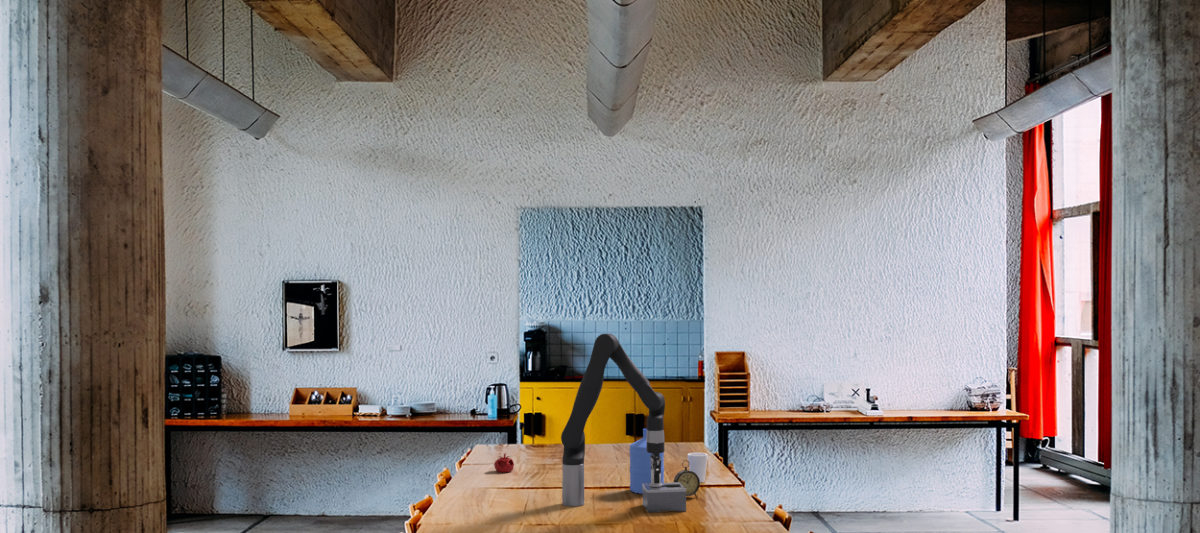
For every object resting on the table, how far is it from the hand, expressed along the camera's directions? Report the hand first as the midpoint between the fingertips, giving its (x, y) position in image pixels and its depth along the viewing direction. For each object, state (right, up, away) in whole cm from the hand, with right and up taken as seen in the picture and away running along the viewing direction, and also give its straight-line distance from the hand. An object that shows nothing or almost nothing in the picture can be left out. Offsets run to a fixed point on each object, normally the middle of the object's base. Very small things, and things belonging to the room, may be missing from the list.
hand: (655, 482), depth 377 cm
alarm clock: (+15, -12, +19) cm, 27 cm away
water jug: (-2, -12, +33) cm, 36 cm away
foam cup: (+23, -13, +53) cm, 59 cm away
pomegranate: (-72, -15, +83) cm, 111 cm away
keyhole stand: (+3, -11, 0) cm, 11 cm away
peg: (0, -5, 0) cm, 5 cm away
